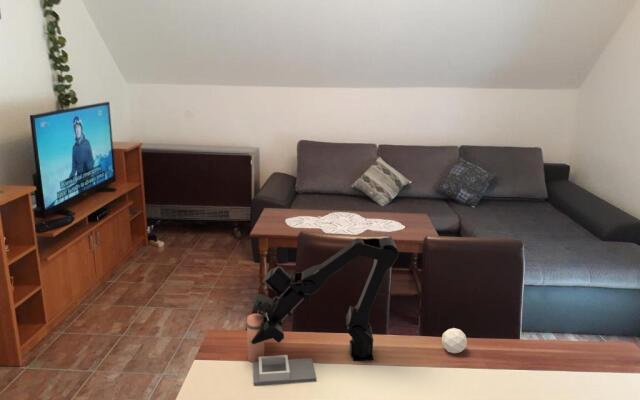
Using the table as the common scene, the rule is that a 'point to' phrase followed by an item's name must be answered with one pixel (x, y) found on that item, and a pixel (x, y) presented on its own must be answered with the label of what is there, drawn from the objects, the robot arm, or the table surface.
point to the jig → (282, 370)
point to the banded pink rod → (252, 330)
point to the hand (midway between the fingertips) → (251, 338)
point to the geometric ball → (454, 340)
